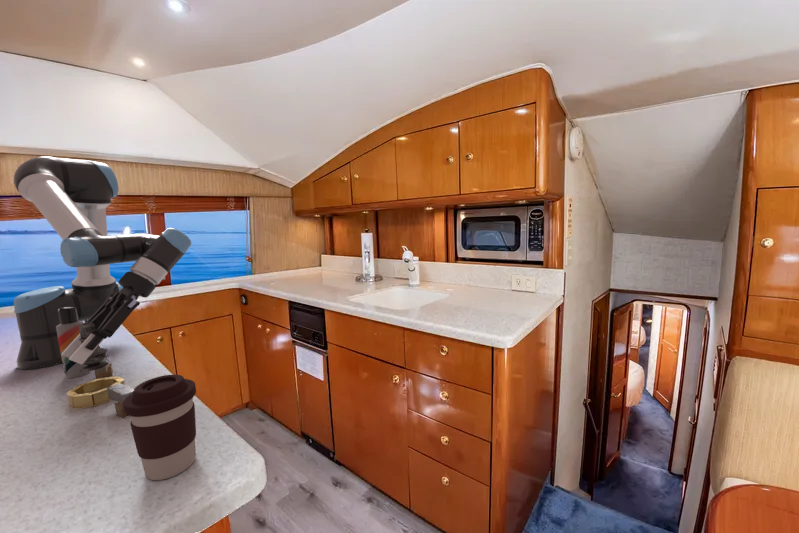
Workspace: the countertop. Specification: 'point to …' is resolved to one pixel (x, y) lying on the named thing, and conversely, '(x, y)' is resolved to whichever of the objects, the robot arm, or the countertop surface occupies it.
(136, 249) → the robot arm
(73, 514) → the countertop surface
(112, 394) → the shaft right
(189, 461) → the coffee cup
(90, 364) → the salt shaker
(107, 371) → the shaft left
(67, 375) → the lotion bottle
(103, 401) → the brass collar
